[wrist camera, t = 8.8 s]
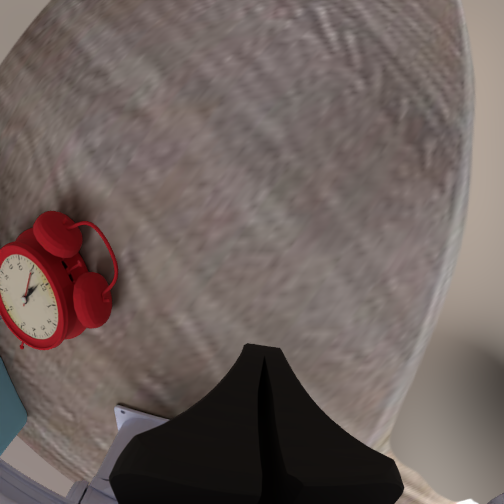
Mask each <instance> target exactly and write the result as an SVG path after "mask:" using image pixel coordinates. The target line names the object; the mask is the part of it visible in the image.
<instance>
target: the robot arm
mask: <svg viewBox="0 0 504 504" xmlns="http://www.w3.org/2000/svg"><path fill="white" fill-rule="evenodd" d="M114 410H115V415H116V421H117V426H118V431H119V432H118V434H117V435H116V437H115V439H114V441H113V443H112V445H111V447H110V449H109V451H108V453H107V455H106V457H105V458H104V460H103V462H102V464H101V466H100V468H99V470H98V472H97V474H96V476H94V478H93V480H92V481H91V483H90V485H89V486H88V483H89V482H87V481H85V480H82V481H76V482H75V483H74V484H73V486H72V487H71V489H70V491H69V492H68V494H67V496H66V498H65V497H63V496H61V495H59V494H57V493H55V492H53V491H52V490H50V489H48V488H46V487H44V486H43V485H41V484H39V483H37V482H36V481H34V480H32V479H31V478H29V477H27V476H26V475H24V474H23V473H21V472H20V471H18V470H16V469H15V468H13V467H12V466H10V465H9V464H8V463H6V462H5V461H3V460H2V459H0V504H394V503H395V502H396V501H397V500H398V499H399V497H400V496H401V495H402V493H403V490H404V485H403V482H402V479H401V476H400V473H399V470H398V468H397V466H396V464H395V461H394V460H393V459H391V458H389V457H387V456H385V455H383V454H381V453H379V452H377V451H375V450H373V449H371V448H370V447H368V446H366V445H365V444H363V443H362V442H360V441H359V440H357V439H356V438H354V437H353V436H351V435H350V434H349V433H347V432H346V431H345V430H343V429H342V428H341V427H340V426H339V425H337V424H336V423H335V422H334V421H333V420H332V419H330V418H329V417H328V416H327V415H326V414H325V413H324V412H323V411H322V410H321V409H320V407H319V406H318V405H317V404H316V403H315V402H314V401H313V400H312V398H311V397H310V396H309V394H308V393H307V392H306V390H305V389H304V388H303V386H302V385H301V383H300V382H299V380H298V379H297V377H296V375H295V374H294V372H293V371H292V369H291V367H290V365H289V364H288V362H287V360H286V358H285V356H284V354H283V352H282V350H281V349H280V348H276V347H269V346H262V345H255V344H249V343H247V344H245V345H244V347H243V350H242V352H241V354H240V356H239V358H238V359H237V361H236V362H235V364H234V365H233V366H232V368H231V369H230V371H229V372H228V373H227V374H226V376H225V377H224V378H223V379H222V380H221V381H220V382H219V383H218V385H217V386H216V387H215V388H214V389H213V390H211V391H210V392H209V393H208V394H207V395H206V396H205V397H204V398H202V399H201V400H200V401H199V402H197V403H196V404H195V405H193V406H192V407H191V408H189V409H188V410H186V411H185V412H183V413H181V414H180V415H178V416H176V417H174V418H173V419H171V420H169V419H165V418H161V417H157V416H154V415H150V414H146V413H143V412H140V411H136V410H133V409H130V408H126V407H123V406H120V405H116V406H115V408H114ZM487 504H504V493H502V494H500V495H499V496H497V497H495V498H494V499H492V500H491V501H490V502H488V503H487Z"/></svg>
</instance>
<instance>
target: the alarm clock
mask: <svg viewBox="0 0 504 504" xmlns="http://www.w3.org/2000/svg"><path fill="white" fill-rule="evenodd" d="M80 225H88V226H91V227H92V228H94V229H95V230H96V231H97V232H98V233H99V235H100V236H101V238H102V239H103V241H104V243H105V244H106V246H107V248H108V250H109V252H110V255H111V257H112V260H113V264H114V270H115V274H114V279H113V281H112V283H111V284H110V285H109V286H108V283H107V281H106V280H105V278H104V277H103V276H102V275H100V274H99V273H95V272H88V269H87V267H86V265H85V263H84V261H83V259H82V257H81V256H80V254H79V250H80V248H81V245H82V234H81V231H80V229H79V228H78V226H80ZM117 277H118V266H117V261H116V258H115V255H114V253H113V250H112V248H111V246H110V244H109V242H108V241H107V239H106V237H105V236H104V234H103V233H102V232H101V230H100V229H99V228H98V227H97V226H96V225H94V224H93V223H91V222H88V221H81V222H78V223H76V224H75V223H74V221H73V220H72V219H70V218H69V217H68V216H67V215H65V214H63V213H61V212H56V211H47V212H45V213H43V214H41V215H40V216H39V217H38V218H37V220H36V221H35V223H34V225H33V228H30V229H28V230H26V231H24V232H23V233H21V234H20V235H19V236H18V238H17V239H16V241H15V242H11V243H8V244H6V245H5V246H3V247H2V248H1V249H0V315H1V317H2V319H3V320H4V322H5V323H6V325H7V326H8V328H9V329H10V330H11V331H12V333H13V334H14V335H15V336H16V337H17V338H18V339H20V340H21V341H22V344H21V345H20V348H21V349H24V346H23V344H24V343H25V344H26V345H28V346H30V347H32V348H35V349H38V350H49V349H52V348H55V347H57V346H58V345H60V344H61V343H62V341H63V340H64V339H71V338H74V337H76V336H78V335H80V334H81V333H82V332H83V331H84V330H85V329H86V328H98V327H100V326H102V325H103V324H104V323H106V321H107V320H108V318H109V316H110V314H111V309H112V297H111V292H110V289H111V288H112V287H113V286H114V284H115V283H116V281H117Z"/></svg>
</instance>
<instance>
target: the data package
mask: <svg viewBox="0 0 504 504" xmlns="http://www.w3.org/2000/svg"><path fill="white" fill-rule="evenodd" d="M26 421H27V413H26V410H25V408H24V406H23V405H22V403H21V401H20V399H19V397H18V395H17V392H16V390H15V388H14V386H13V384H12V382H11V380H10V377H9V375H8V373H7V370H6V368H5V366H4V363H3V361H2V358H1V357H0V456H1V454H2V453H3V452H4V450H5V449H6V448H7V446H8V445H9V444H10V443H11V441H12V440H13V439H14V438H15V436H16V435H17V434H18V433H19V431H20V430H21V429H22V428H23V426H24V425H25V424H26Z"/></svg>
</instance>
